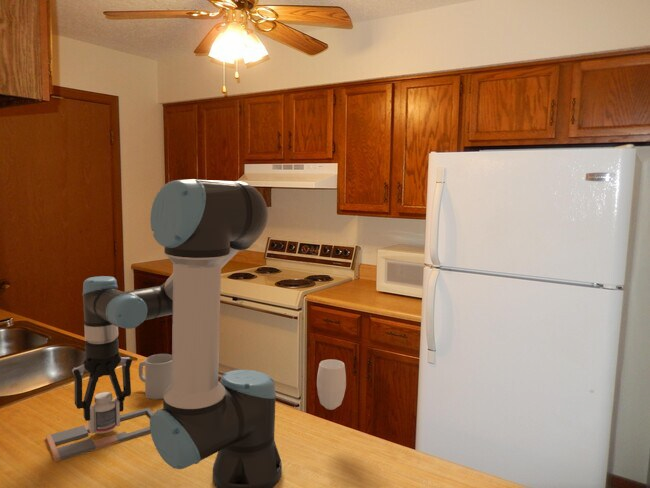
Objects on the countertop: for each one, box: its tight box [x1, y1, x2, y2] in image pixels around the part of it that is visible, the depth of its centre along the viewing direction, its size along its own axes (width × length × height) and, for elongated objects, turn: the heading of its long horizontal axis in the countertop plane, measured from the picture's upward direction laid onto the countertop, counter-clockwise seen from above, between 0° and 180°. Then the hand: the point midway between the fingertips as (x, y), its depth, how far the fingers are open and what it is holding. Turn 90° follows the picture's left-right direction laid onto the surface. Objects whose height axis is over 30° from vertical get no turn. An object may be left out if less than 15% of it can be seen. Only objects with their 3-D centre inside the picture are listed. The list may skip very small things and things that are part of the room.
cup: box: [316, 359, 347, 411], centre depth 115 cm, size 7×7×21 cm
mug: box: [138, 353, 172, 400], centre depth 141 cm, size 12×8×11 cm
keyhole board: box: [45, 407, 154, 463], centre depth 118 cm, size 12×25×1 cm, turn 129°
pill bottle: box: [92, 391, 117, 434], centre depth 117 cm, size 5×5×9 cm
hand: (104, 427), depth 117 cm, fingers closed on pill bottle, 5 cm apart
